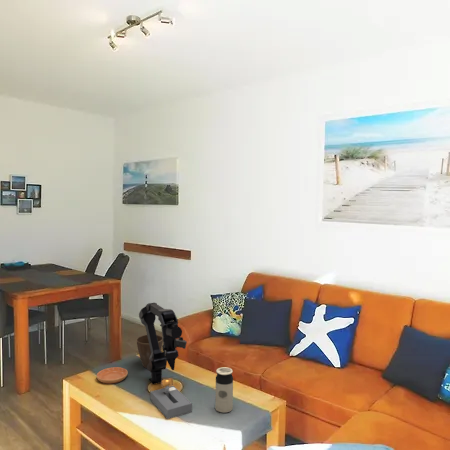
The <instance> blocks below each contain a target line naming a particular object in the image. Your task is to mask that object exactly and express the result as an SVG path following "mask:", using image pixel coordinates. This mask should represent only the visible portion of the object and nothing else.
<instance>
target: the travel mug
mask: <svg viewBox="0 0 450 450" xmlns="http://www.w3.org/2000/svg"><path fill="white" fill-rule="evenodd" d="M215 372H216V376H215V405H214V406H215V410H216V412H219V413H221V414H222V413H223V414H224V413H229V412H231V411H232V410H233V408H234V376H233V372H234V371H233V369H232V368H231V367H225V366H224V367H218V368H217V369H216V371H215Z"/></svg>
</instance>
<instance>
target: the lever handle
mask: <svg viewBox="0 0 450 450" xmlns="http://www.w3.org/2000/svg"><path fill="white" fill-rule="evenodd" d="M160 385H161V388H165V395H166V396H167V397H168V398H169V387H170V386H174V379H173V377H170V378H167V379H166V378H165V379H163V380H162V381H161V383H160Z"/></svg>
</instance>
